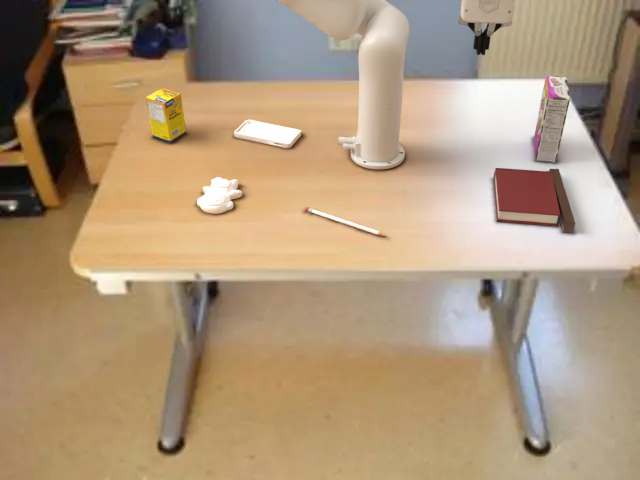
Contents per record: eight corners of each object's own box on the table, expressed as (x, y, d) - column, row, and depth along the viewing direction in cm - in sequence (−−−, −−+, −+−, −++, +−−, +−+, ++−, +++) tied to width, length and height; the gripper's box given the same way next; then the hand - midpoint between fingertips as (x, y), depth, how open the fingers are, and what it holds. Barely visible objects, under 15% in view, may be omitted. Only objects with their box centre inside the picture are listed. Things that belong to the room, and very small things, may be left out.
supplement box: (187, 133, 174) (181, 93, 167) (170, 144, 170) (164, 103, 163) (168, 127, 177) (162, 87, 170) (152, 137, 173) (145, 97, 166)
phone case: (302, 134, 173) (247, 123, 178) (301, 129, 172) (247, 118, 177) (289, 149, 168) (233, 137, 173) (289, 144, 167) (233, 132, 172)
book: (497, 221, 145) (499, 209, 143) (493, 179, 157) (495, 167, 155) (557, 226, 144) (560, 214, 142) (548, 183, 156) (551, 171, 154)
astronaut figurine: (249, 186, 156) (248, 174, 154) (226, 217, 147) (225, 205, 145) (213, 179, 158) (212, 168, 156) (188, 209, 149) (186, 197, 147)
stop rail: (562, 232, 142) (565, 222, 140) (547, 177, 158) (549, 168, 156) (572, 232, 142) (575, 222, 140) (556, 178, 157) (558, 168, 156)
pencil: (307, 209, 148) (307, 206, 148) (387, 236, 141) (387, 233, 141) (305, 211, 148) (305, 208, 147) (385, 238, 140) (385, 235, 140)
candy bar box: (532, 137, 172) (545, 74, 161) (553, 139, 171) (567, 76, 161) (533, 161, 163) (547, 96, 153) (556, 163, 162) (571, 98, 152)
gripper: (454, -35, 132) (444, 58, 143) (536, -33, 131) (519, 61, 142) (452, -47, 138) (442, 44, 149) (530, -45, 136) (515, 46, 148)
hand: (480, 52), depth 145 cm, fingers closed
